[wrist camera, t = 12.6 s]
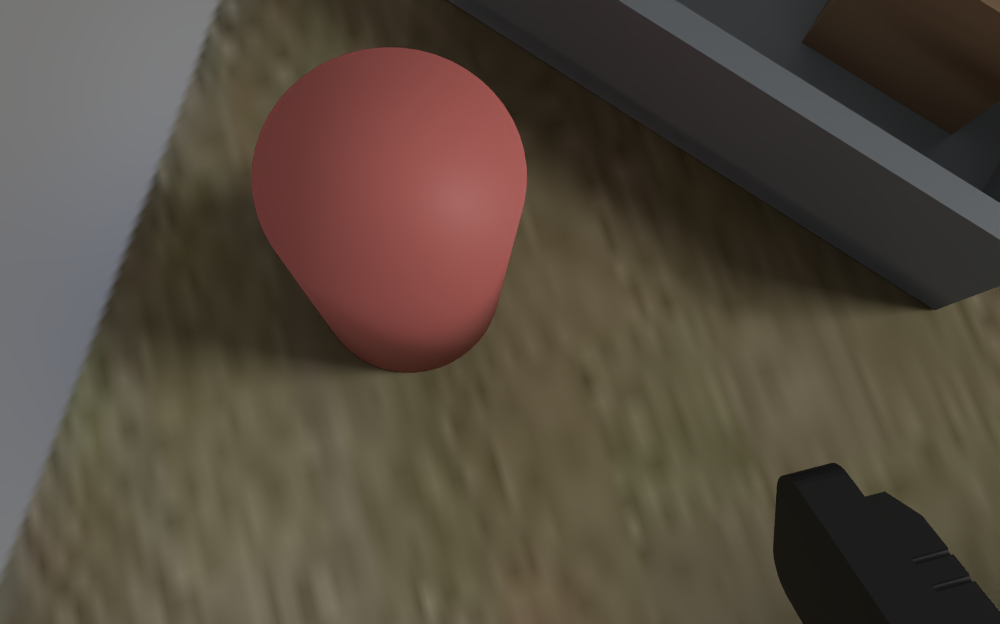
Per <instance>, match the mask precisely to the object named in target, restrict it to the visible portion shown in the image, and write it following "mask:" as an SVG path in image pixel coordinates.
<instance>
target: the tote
mask: <svg viewBox="0 0 1000 624" xmlns="http://www.w3.org/2000/svg"><path fill="white" fill-rule="evenodd" d="M447 1H449V2H451V3H452V4H454V5H455V6H457V7H458V8H460V9H462V10H463V11H465V12H466V13H468V14H469V15H471V16H473V17H474V18H476V19H477V20H479V21H481V22H482V23H484V24H485V25H487V26H488V27H490V28H492V29H493V30H495V31H496V32H498V33H499V34H501V35H503V36H504V37H506V38H507V39H509V40H510V41H512V42H514V43H515V44H517V45H518V46H520V47H521V48H523V49H525V50H526V51H528V52H529V53H531V54H532V55H534V56H536V57H537V58H539V59H540V60H542V61H543V62H545V63H547V64H548V65H550V66H551V67H553V68H554V69H556V70H558V71H559V72H561V73H562V74H564V75H565V76H567V77H569V78H570V79H572V80H573V81H575V82H576V83H578V84H580V85H581V86H583V87H584V88H586V89H587V90H589V91H591V92H592V93H594V94H595V95H597V96H598V97H600V98H602V99H603V100H605V101H606V102H608V103H609V104H611V105H613V106H614V107H616V108H617V109H619V110H620V111H622V112H624V113H625V114H627V115H628V116H630V117H631V118H633V119H635V120H636V121H638V122H639V123H641V124H642V125H644V126H646V127H647V128H649V129H650V130H652V131H653V132H655V133H657V134H658V135H660V136H661V137H663V138H664V139H666V140H668V141H669V142H671V143H672V144H674V145H675V146H677V147H679V148H680V149H682V150H683V151H685V152H686V153H688V154H690V155H691V156H693V157H694V158H696V159H697V160H699V161H701V162H702V163H704V164H705V165H707V166H708V167H710V168H712V169H713V170H715V171H716V172H718V173H719V174H721V175H723V176H724V177H726V178H727V179H729V180H730V181H732V182H734V183H735V184H737V185H738V186H740V187H741V188H743V189H745V190H746V191H748V192H749V193H751V194H752V195H754V196H756V197H757V198H759V199H760V200H762V201H763V202H765V203H767V204H768V205H770V206H771V207H773V208H774V209H776V210H778V211H779V212H781V213H782V214H784V215H785V216H787V217H789V218H790V219H792V220H793V221H795V222H796V223H798V224H800V225H801V226H803V227H804V228H806V229H807V230H809V231H811V232H812V233H814V234H815V235H817V236H819V237H820V238H822V239H823V240H825V241H826V242H828V243H830V244H831V245H833V246H834V247H836V248H837V249H839V250H841V251H842V252H844V253H845V254H847V255H848V256H850V257H852V258H853V259H855V260H856V261H858V262H859V263H861V264H863V265H864V266H866V267H867V268H869V269H870V270H872V271H874V272H875V273H877V274H878V275H880V276H881V277H883V278H885V279H886V280H888V281H889V282H891V283H892V284H894V285H896V286H897V287H899V288H900V289H902V290H903V291H905V292H907V293H908V294H910V295H911V296H913V297H914V298H916V299H918V300H919V301H921V302H922V303H924V304H925V305H927V306H929V307H930V308H932V309H933V310H936V309H939V308H942V307H944V306H947V305H950V304H952V303H955V302H958V301H961V300H963V299H966V298H969V297H971V296H974V295H977V294H979V293H982V292H985V291H987V290H990V289H993V288H995V287H998V286H1000V101H999V102H997V103H996V104H994V105H993V106H991V107H990V108H989V109H987V110H986V111H984V112H983V113H982V114H980V115H979V116H977V117H976V118H975V119H973V120H972V121H970V122H969V123H967V124H966V125H965V126H963V127H962V128H960V129H959V130H958V131H956V132H955V133H953V134H952V135H951V134H949V133H947V132H946V131H944V130H943V129H941V128H939V127H938V126H936V125H934V124H933V123H931V122H930V121H928V120H926V119H925V118H923V117H921V116H920V115H918V114H917V113H915V112H913V111H912V110H910V109H909V108H907V107H905V106H904V105H902V104H900V103H899V102H897V101H896V100H894V99H892V98H891V97H889V96H888V95H886V94H884V93H883V92H881V91H879V90H878V89H876V88H875V87H873V86H871V85H870V84H868V83H866V82H865V81H863V80H862V79H860V78H858V77H857V76H855V75H854V74H852V73H850V72H849V71H847V70H845V69H844V68H842V67H841V66H839V65H837V64H836V63H834V62H833V61H831V60H829V59H828V58H826V57H824V56H823V55H821V54H820V53H818V52H816V51H815V50H813V49H811V48H810V47H808V46H807V45H805V44H803V43H802V41H803V39H804V37H805V36H806V34H807V33H808V31H809V30H810V28H811V26H812V25H813V23H814V22H815V20H816V19H817V17H818V15H819V14H820V12H821V11H822V9H823V8H824V6H825V4H826V3H827V1H828V0H447Z"/></svg>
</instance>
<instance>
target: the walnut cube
mask: <svg viewBox="0 0 1000 624" xmlns="http://www.w3.org/2000/svg"><path fill="white" fill-rule="evenodd" d="M802 43H803V44H805V45H807V46H808V47H810V48H811V49H813V50H815V51H816V52H818V53H820V54H821V55H823V56H824V57H826V58H828V59H829V60H831V61H833V62H834V63H836V64H837V65H839V66H841V67H842V68H844V69H845V70H847V71H849V72H850V73H852V74H854V75H855V76H857V77H858V78H860V79H862V80H863V81H865V82H866V83H868V84H870V85H871V86H873V87H875V88H876V89H878V90H879V91H881V92H883V93H884V94H886V95H888V96H889V97H891V98H892V99H894V100H896V101H897V102H899V103H900V104H902V105H904V106H905V107H907V108H909V109H910V110H912V111H913V112H915V113H917V114H918V115H920V116H921V117H923V118H925V119H926V120H928V121H930V122H931V123H933V124H934V125H936V126H938V127H939V128H941V129H943V130H944V131H946V132H947V133H949V134H951V135H952V134H953V133H955V132H956V131H958V130H959V129H960V128H962V127H963V126H965V125H966V124H967V123H969V122H970V121H972V120H973V119H975V118H976V117H977V116H979V115H980V114H982V113H983V112H984V111H986V110H987V109H989V108H990V107H991V106H993V105H994V104H996V103H997V102H999V101H1000V0H828V1H827V3H826V4H825V6H824V8H823V9H822V11H821V12H820V14H819V15H818V17H817V19H816V20H815V22H814V23H813V25H812V26H811V28H810V30H809V31H808V33H807V34H806V36H805V37H804V39H803V41H802Z"/></svg>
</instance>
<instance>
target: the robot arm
mask: <svg viewBox="0 0 1000 624" xmlns="http://www.w3.org/2000/svg"><path fill="white" fill-rule="evenodd" d="M773 554H774V561H775V566H776V570H777V573H778V576H779V579H780V582H781V584H782V587H783V589H784V591H785V593H786V595H787V597H788V599H789V600H790V602H791V604H792V606H793V607H794V609H795V611H796V612H797V614H798V616H799V618H800V619H801V621H802V623H803V624H1000V612H999V610H998V609H997V608H996V607H995V605H994V604H993V603H992V602H991V601H990V599H989V598H988V597H987V596H986V594H985V593H984V592H983V591H982V589H981V588H980V587H979V586H978V584H977V583H976V582H975V581H973V582H972V581H971V579H970V577H969V573H968V572H967V571H966V570H965V568H964V567H963V566H962V565H961V563H960V562H959V561H958V560H957V558H956V557H955V556H954V555H950V553H949V551H948V547H947V546H946V545H945V544H944V542H943V541H942V540H941V539H940V537H939V536H938V535H937V534H936V532H935V531H934V530H933V529H932V528H931V526H930V525H929V524H928V523H927V521H926V520H925V519H924V518H923V516H922V515H920V514H918V513H917V512H915V511H914V510H912V509H911V508H909V507H908V506H906V505H905V504H903V503H902V502H900V501H899V500H897V499H896V498H894V497H892V496H891V495H889V494H888V493H886V492H882V493H878V494H874V495H870V496H866V497H865V496H864V495H863V494H862V492H861V491H860V490H859V488H858V487H857V486H856V484H855V483H854V482H853V480H852V479H851V478H850V476H849V475H848V474H847V473H846V471H845V470H844V469H843V468H842V467H841V466H839V465H838V464H835V463H830V464H826V465H822V466H818V467H814V468H810V469H807V470H803V471H799V472H795V473H791V474H787V475H783V476H781V477H780V478H779V479H778V483H777V494H776V510H775V527H774V543H773Z"/></svg>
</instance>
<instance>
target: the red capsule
mask: <svg viewBox="0 0 1000 624" xmlns="http://www.w3.org/2000/svg"><path fill="white" fill-rule="evenodd" d="M251 182H252V192H253V200H254V204H255V209H256V213H257V216H258V219H259V222H260V224H261V227H262V229H263V232H264V234H265V235H266V237H267V239H268V241H269V242H270V244H271V246H272V248H273V249H274V250H275V252H276V253H277V255H278V256H279V257H280V259H281V260H282V262H283V263H284V264H285V266H286V267H287V269H288V270H289V271H290V273H291V274H292V276H293V277H294V278H295V280H296V281H297V282H298V284H299V285H300V287H301V288H302V289H303V291H304V292H305V294H306V295H307V296H308V298H309V299H310V301H311V302H312V303H313V305H314V306H315V308H316V309H317V310H318V312H319V313H320V315H321V316H322V317H323V319H324V320H325V322H326V323H327V324H328V326H329V327H330V329H331V330H332V331H333V333H334V334H335V335H336V337H337V338H338V339H339V341H340V342H341V343H342V344H343V345H344V346H345V347H346V348H347V349H348V350H349V351H350V352H352V353H353V354H354V355H356V356H357V357H358V358H360V359H362V360H364V361H365V362H367V363H369V364H371V365H374V366H376V367H379V368H382V369H386V370H389V371H395V372H403V373H412V372H423V371H429V370H432V369H436V368H439V367H442V366H444V365H447V364H449V363H451V362H453V361H455V360H456V359H458V358H460V357H461V356H462V355H464V354H465V353H466V352H468V351H469V350H470V349H471V348H472V347H473V346H474V345H475V344H476V343H477V342H478V341H479V340H480V338H481V337H482V336H483V335H484V333H485V332H486V330H487V328H488V327H489V325H490V323H491V321H492V319H493V316H494V314H495V311H496V307H497V303H498V300H499V296H500V292H501V289H502V285H503V281H504V277H505V274H506V270H507V266H508V262H509V259H510V255H511V251H512V247H513V244H514V240H515V236H516V232H517V229H518V225H519V221H520V218H521V214H522V210H523V206H524V202H525V196H526V188H527V166H526V159H525V153H524V148H523V145H522V141H521V138H520V135H519V132H518V130H517V128H516V126H515V123H514V121H513V119H512V117H511V116H510V114H509V112H508V111H507V109H506V108H505V106H504V104H503V103H502V102H501V101H500V99H499V98H498V97H497V96H496V95H495V93H494V92H493V91H492V90H491V89H490V88H489V87H488V86H487V85H486V84H485V83H484V82H483V81H481V80H480V79H479V78H478V77H476V76H475V75H474V74H472V73H471V72H469V71H468V70H467V69H465V68H463V67H461V66H460V65H458V64H456V63H454V62H452V61H450V60H448V59H445V58H443V57H440V56H438V55H435V54H432V53H428V52H424V51H420V50H415V49H408V48H398V47H381V48H371V49H364V50H360V51H355V52H351V53H347V54H345V55H342V56H339V57H336V58H333V59H331V60H329V61H327V62H325V63H323V64H321V65H319V66H317V67H316V68H314V69H313V70H311V71H310V72H308V73H307V74H305V75H304V76H303V77H301V78H300V79H299V80H298V81H297V82H296V83H295V84H293V85H292V86H291V87H290V88H289V89H288V90H287V91H286V92H285V94H284V95H283V96H282V97H281V98H280V99H279V100H278V102H277V103H276V105H275V106H274V108H273V109H272V111H271V112H270V114H269V115H268V117H267V119H266V121H265V123H264V125H263V127H262V129H261V132H260V135H259V138H258V141H257V144H256V147H255V152H254V157H253V163H252V180H251Z"/></svg>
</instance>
